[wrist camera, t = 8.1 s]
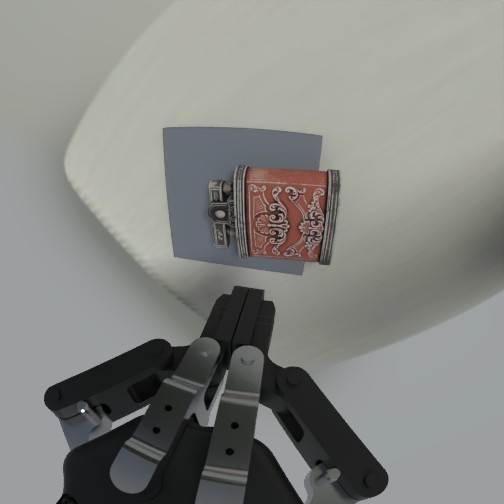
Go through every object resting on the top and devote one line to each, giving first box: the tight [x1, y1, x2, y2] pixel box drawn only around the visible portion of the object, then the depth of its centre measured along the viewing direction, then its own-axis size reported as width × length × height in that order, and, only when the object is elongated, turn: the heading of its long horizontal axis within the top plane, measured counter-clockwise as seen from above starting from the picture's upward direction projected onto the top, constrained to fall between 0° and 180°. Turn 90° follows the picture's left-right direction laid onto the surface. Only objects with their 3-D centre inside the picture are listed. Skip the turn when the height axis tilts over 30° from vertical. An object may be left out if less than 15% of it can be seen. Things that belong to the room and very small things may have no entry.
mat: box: [163, 127, 322, 275], centre depth 24 cm, size 13×13×1 cm
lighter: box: [206, 165, 341, 265], centre depth 22 cm, size 8×3×10 cm
